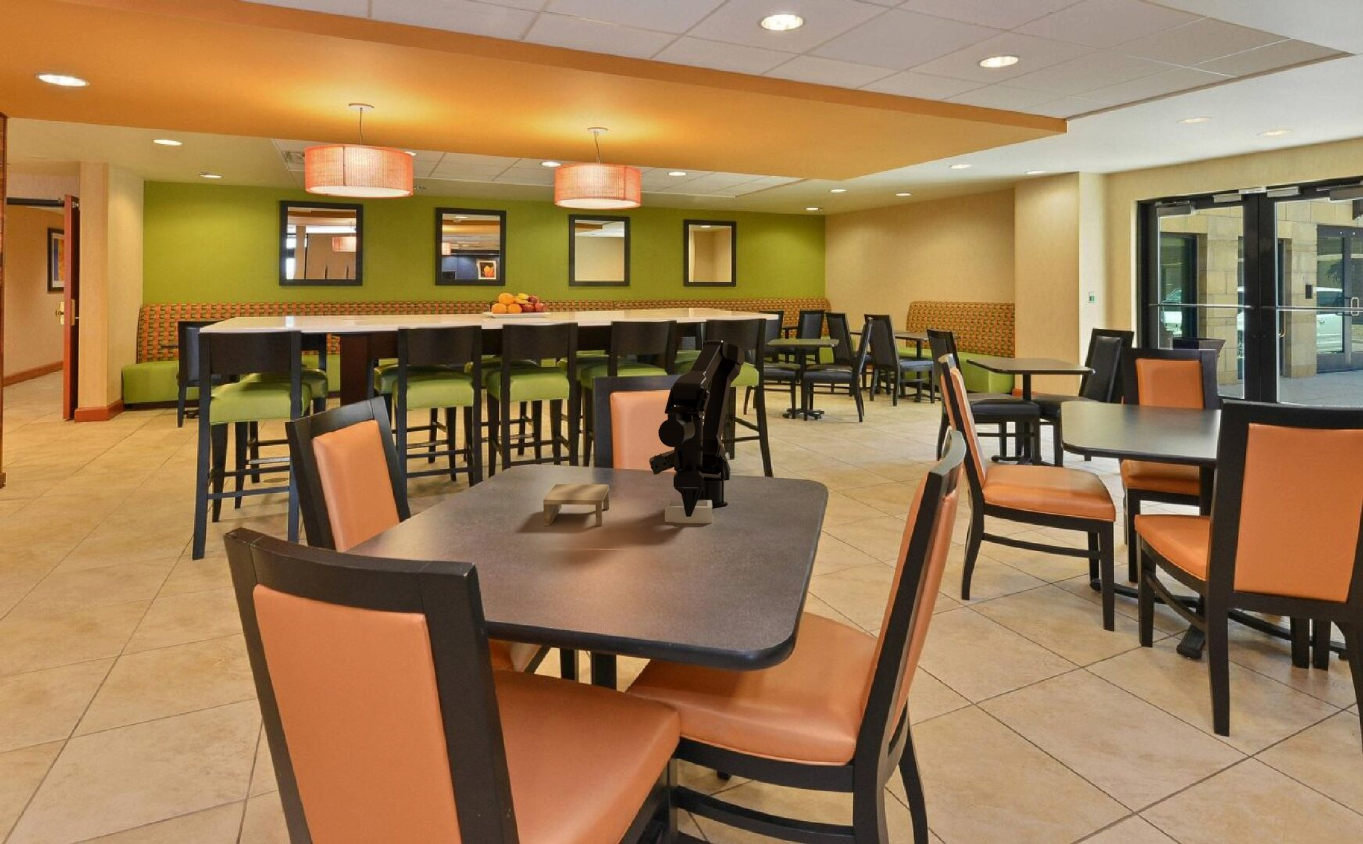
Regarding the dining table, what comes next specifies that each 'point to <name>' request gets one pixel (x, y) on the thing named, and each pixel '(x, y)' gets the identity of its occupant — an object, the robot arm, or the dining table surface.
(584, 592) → the dining table surface
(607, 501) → the oak shelf
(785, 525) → the dining table surface
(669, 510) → the beige tray
